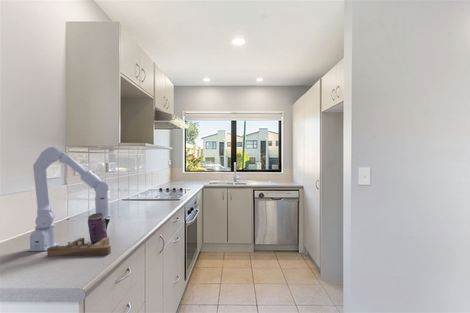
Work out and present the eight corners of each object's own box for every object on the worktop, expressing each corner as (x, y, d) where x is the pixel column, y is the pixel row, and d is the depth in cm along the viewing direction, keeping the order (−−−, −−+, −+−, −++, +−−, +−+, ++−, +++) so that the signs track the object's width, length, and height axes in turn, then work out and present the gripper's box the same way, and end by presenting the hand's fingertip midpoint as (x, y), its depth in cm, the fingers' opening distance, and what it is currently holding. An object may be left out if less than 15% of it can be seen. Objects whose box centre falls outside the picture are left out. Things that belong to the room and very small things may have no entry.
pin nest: (107, 255, 117) (107, 242, 117) (47, 256, 116) (47, 243, 116) (121, 244, 131) (121, 232, 131) (67, 244, 131) (67, 233, 131)
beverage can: (103, 233, 140) (99, 211, 137) (110, 239, 136) (107, 215, 132) (88, 239, 135) (84, 216, 132) (94, 245, 131) (91, 221, 127)
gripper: (104, 209, 132) (105, 239, 132) (116, 203, 146) (117, 230, 146) (88, 210, 131) (89, 239, 132) (102, 204, 146) (103, 231, 146)
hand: (103, 235), depth 139 cm, fingers closed, pressing on beverage can
